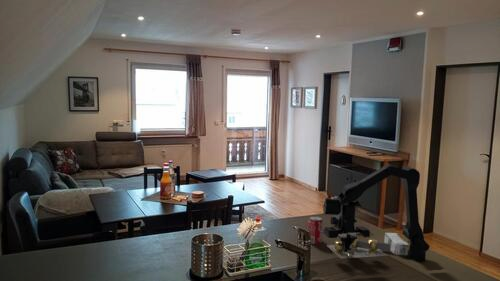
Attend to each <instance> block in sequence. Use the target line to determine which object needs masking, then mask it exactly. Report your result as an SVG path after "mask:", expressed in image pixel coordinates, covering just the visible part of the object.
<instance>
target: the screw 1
mask: <svg viewBox="0 0 500 281" xmlns="http://www.w3.org/2000/svg"><path fill="white" fill-rule="evenodd" d="M334 245H335V247H334V250H335V251H337V252H344V249H343V246H342V242H341V240H335V241H334ZM354 251H355V248H353V247H349V249H348V251H347V252H345V253H348V254H351V255H354Z"/></svg>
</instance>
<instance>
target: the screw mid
mask: <svg viewBox="0 0 500 281" xmlns="http://www.w3.org/2000/svg"><path fill="white" fill-rule="evenodd" d="M350 247H353V248H357V247H359V248H364V249H370V242H368V241H365V240H364V241H363V240H359V238H357V239H355V241H354V242H353V243H352V244H351V246H350Z"/></svg>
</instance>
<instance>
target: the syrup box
mask: <svg viewBox="0 0 500 281" xmlns="http://www.w3.org/2000/svg"><path fill="white" fill-rule="evenodd" d="M383 243H388V244H390V251H391V252H392V253H393V254H394V255H396V256H409V243H407V241H405V240H404V239H403V237H402V236H400V235H399V233H397V232H384V240H383Z"/></svg>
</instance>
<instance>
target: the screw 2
mask: <svg viewBox="0 0 500 281" xmlns="http://www.w3.org/2000/svg"><path fill="white" fill-rule="evenodd" d="M367 242H370V250H377V249H380V250H381V251H385V252H386V251H387V252H390V251H391V250H390V244H388V243H384V242H381V241H378V240H377V239H374V238H369V239H368V240H367Z"/></svg>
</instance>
